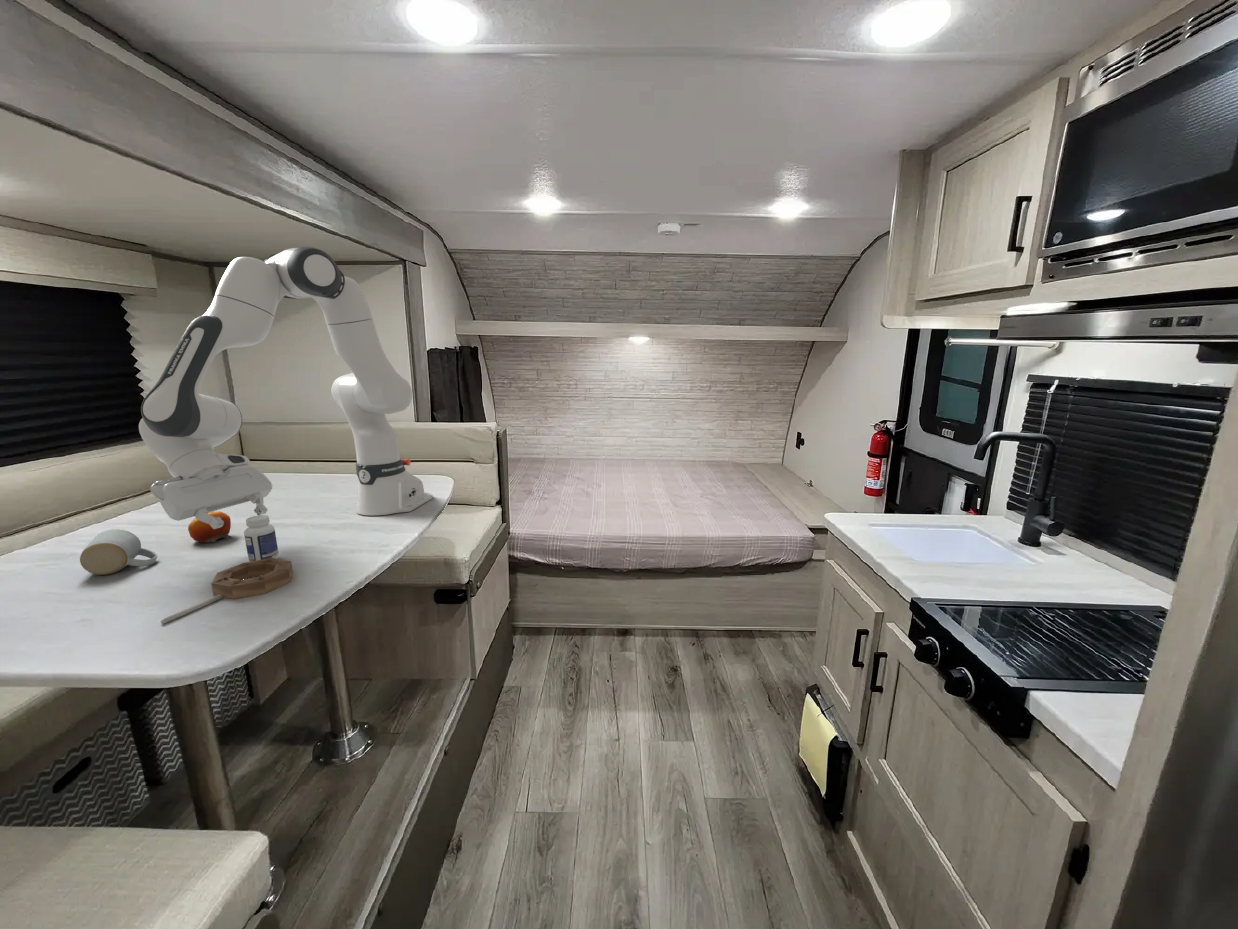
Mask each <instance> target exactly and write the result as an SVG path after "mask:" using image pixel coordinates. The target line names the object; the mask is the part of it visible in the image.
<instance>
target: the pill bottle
mask: <svg viewBox="0 0 1238 929" xmlns="http://www.w3.org/2000/svg"><path fill="white" fill-rule="evenodd" d="M270 521H271V520H270V517H269V515H268V514H262V515H259V516H258V515H254V516H250V517H248V518H246V519H245V524H246V527H247V528H246V529H245V530H244V531H243V535H244V541H245V546H246V548H245V549H246V553H247V558H248V562H251V561H257V560H264V559H270V558H275V559H279V557H280V553H279V547H278V542H277V534H276V529H275V526H274V525H272V524H269V523H270Z"/></svg>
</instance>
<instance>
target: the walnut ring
mask: <svg viewBox="0 0 1238 929" xmlns="http://www.w3.org/2000/svg"><path fill="white" fill-rule="evenodd" d="M293 573H294V571H293V564H292V560H287V559H283V558H277V559H275V558H270V559H264V560H257V561H251V562H249V561H246V562H242V563H239V564H235V565H234V566H232V567H229V568H226V569H223V570H222V571H219V572H216V574H215V576H214V578H213V580H212V581H211V590H212V594H213V596H214V595H215V596H217V595H221V596H222V598H225V599H231V600H236V598H237V599H242V598H249V597H252V595H253V596H257V595H258V594H259V595H263V594H268V593H269V592H272V591H274V590H276V589H278V588H279V587H282V586H285V585H287V584H289V583H291V581H292V578H291V577H293ZM260 575H262V576H260ZM253 576H257V577H253ZM248 577H251V578H248ZM246 578H248V579H246ZM243 579H244V580H243ZM215 596H214V597H215ZM241 597H242V598H241Z"/></svg>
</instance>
